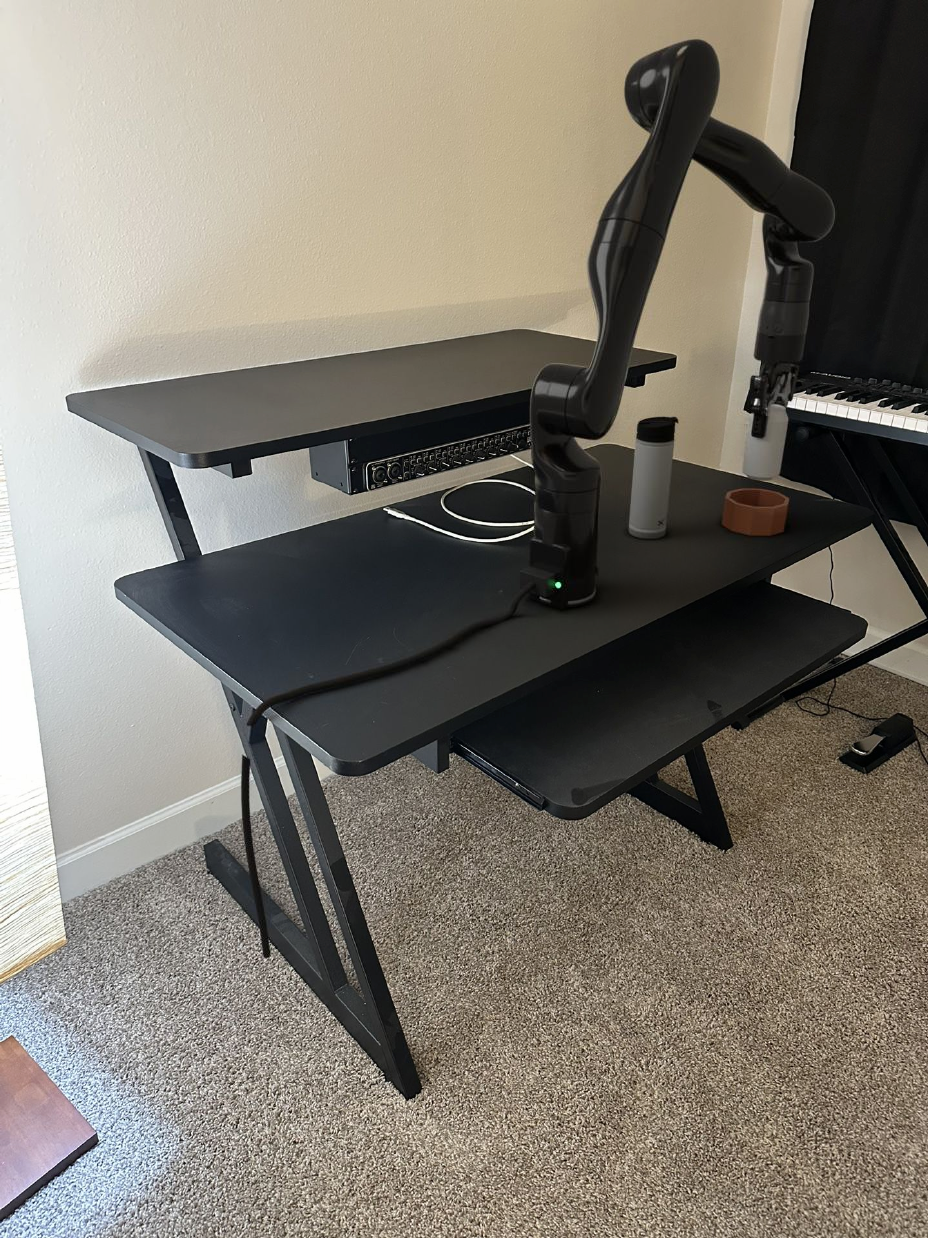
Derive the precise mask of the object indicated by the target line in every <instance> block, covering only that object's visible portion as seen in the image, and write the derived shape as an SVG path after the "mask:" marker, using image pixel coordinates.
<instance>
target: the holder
mask: <svg viewBox="0 0 928 1238" xmlns="http://www.w3.org/2000/svg"><path fill="white" fill-rule="evenodd" d="M723 504H724V505H723V511H722V521H721V525H722V526H723V527H725V528H726V529H728V530H729V531H730V532H734V533H738V534H742V535H747V536H756V537H757V536H759V537H760V536H763V537H764V536H765V537H771V536H774V535H778V534H781V533H784V532H785V529H786V524H787V517H788V512H789V506H790V505H789V504H790V497H788V496H787V495H784V494H783V493H781V492H778V491H774V490H768V489H764V488H743V487H742V488H738V489H734V490H730V491H727V493H726V496H725V497H724V503H723Z"/></svg>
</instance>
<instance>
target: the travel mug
mask: <svg viewBox="0 0 928 1238" xmlns="http://www.w3.org/2000/svg"><path fill="white" fill-rule="evenodd" d="M676 424H679V419H678V418H677V416H671V417H670V416H653V417H646V418H643V419H640V420H639V421H638V422H637V425H636V436H635V445H634V456H633V469H632V470H633V471H632V481H631V493H630V495H631V496H630V505H629V506H630V507H629V508H630V509H629V519H628V520H629V523H628V532H629V534H630V535H631V536H633V537H635V538H638V539H642V540H656V539H660V538H662V537H664V536H665V535H666V533H667V532H666V530H667V522H668V509H669V502H670V501H669V500H670V489H671V481H672V480H671V479H672V470H673V459H674V448H675V437H676V436H675V434H676Z"/></svg>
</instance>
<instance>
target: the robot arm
mask: <svg viewBox="0 0 928 1238" xmlns="http://www.w3.org/2000/svg"><path fill="white" fill-rule="evenodd" d="M720 82H721V67H720V62H719V58H718V54H717V53H716V51H715V49H714V47H713V45H711V43H709V42H707V41H706V40H703V39H699V38H694V39H693V38H692V39H687V40H683V41H679V42H676V43H673V44H671V45H668V46H666V47H663V48H661V49H658V50H655V51H653V52H650V53H649V54H646V55H644V56H642V57H641V58H639V59H638V60H636V61H635V62H634V63H633V65H631V67H630V68H629V70H628V72H627V74H626V76H625V80H624V86H623V99H624V104H625V107H626V110H627V112H628V114H629V115H630V117H631V120H633V121H634V122H635V124H637V126H638V127H640V128H641V129H642V130H643V131H645V132H647V133H649V136H648V138H647V141H646V143H645V145H644V147H643V148H642V150H641V153H640V154H639V155H638V157H637V158H636V159H635V161H634V163H633V164H632V166H631V167H630V168H629V170H628V171H627V172H626V174H625V175H624V176H623V178H622V179H621V181H620V182H619V183H618V185H617V186H616V188H615V189H614V190H613V192H612V193H611V195H610V197H608V199H607V201H606V203H605V204H604V207H603V208H602V210H601V212H600V215H599V218H598V220H597V223H596V226H595V230H594V233H593V236H592V239H591V243H590V246H589V249H588V253H587V257H586V276H587V281H588V285H589V286H588V287H589V290H590V294H591V299H592V301H593V306H594V309H595V314H596V319H597V337H596V343H595V348H594V352H593V357H592V359H591V362H590V365H589V366H583V365H576V364H568V363H561V362H553V363H548V364H546V365H545V366H543V367H542V368H541V369H540V370H539V372H538V373H537V375H536V377H535V379H534V382H533V384H532V388H531V393H530V401H529V403H530V404H529V428H530V459H531V464H532V468H533V471H534V502H533V503H534V506H533V508H534V509H533V537H532V538H530V540H529V566H527V567H524V568H523V569H520V571H519V590H520V591H519V592H517V593H516V595H515V596H514V598H513V599H512V601H511V604H510V606H509V608H508V610H507V611H505V612H504V613H502V614H501V615H499V616H497V617H493V618H488V619H483V620H479V621H476V622H473V623H471V624H469V625H468V626H465V627H464V628H462V629H461V630H459V631H458V632H456V633H455V634H453V635H451V636H450V637H448V638H447V639H445V640H443V641H441V642H439V643H438V644H435V645H434V646H433V645H432V646H431V647H429V648H428V649H425V650H423V651H420V652H418V653H415V654H413V655H410V656H409V657H405V658H403V659H399V660H397V661H394V662H391V663H387V664H385V665H381V666H378V667H374V668H371V669H367V670H362V671H358V672H355V673H352V674H348V675H344V676H340V677H336V678H332V679H327V680H323V681H319V682H314V683H310V684H306V685H304V686H303V685H302V686H300V687H297V688H295V689H292V690H290V691H287V692H284V693H280V694H277V695H274V696H271V697H269V698H267V699H266V700H264V701H262V703H260V704H259V705H258V706H257V707H256V708H255V710H254V711H253V712H252V713H251V715H250V717H249V718H248V720H247V722H246V726H247V727H253V726H255V725H256V724H257V723H258V721H259V720H260V718H261V717H262V715H263V714H264V713H265V712H266V711H267V710H268V709H269V708H271V707H274V706H276V705H278V704H282V703H285V702H288V701H290V700H293V699H295V698H298V697H301V696H303V695H307V694H310V693H314V692H318V691H322V690H326V689H331V688H335V687H339V686H343V685H344V686H345V685H348V684H351V683H354V682H359V681H361V680H366V679H369V678H373V677H376V676H379V675H384V674H387V673H390V672H393V671H396V670H399V669H402V668H405V667H408V666H411V665H414V664H415V663H417V662H420V661H422V660H426V659H427V658H430V657H431V656H433V655H436V654H437V653H440V652H442V651H444V650H446V649H447V648H449V647H452V646H453V645H454V644H455V643H457V642H458V641H460V640H461V639H464V637H466V636H467V635H469V634H472V633H473V632H475V631H476V630H479V629H483V628H487V627H491V626H493V625H497V624H499V623H501V622H505V621H507V620H508V619H510V618H512V616H514V615H515V613H516V611H517V609H518V607H519V604H520V602H521V601H522V600H523V598H524V597H525V596H526V595H528V599H529V600H532V601H535V602H538V603H540V604H544V605H546V606H549V607H553V608H556V609H558V610H562V611H563V610H565V609H568V608H573V607H575V608H576V607H581V606H584V605H586V604H589V603H591V602H592V601H593V600H595V598H596V592H597V591H596V590H597V589H596V579H597V577H599V574H600V573H599V572H600V571H599V568H598V565H597V563H598V562H597V561H598V543H599V528H600V527H599V526H600V511H601V497H602V482H603V481H602V479H603V477H602V476H603V468H602V467H603V466H602V465H601V463H600V462H599V461H598V460H597V459H596V458H595V457H594V456H592V455H591V454H589V453H588V452H587V451H586V450H584V449H583V448H582V447H581V446H580V444H579V443H578V442H577V439H582V440H587V441H598V440H601V439H602V438H604V437H605V436H606V435H607V434H608V433H609V431H611V429H612V427H613V425H614V423H615V420H616V418H617V415H618V412H619V410H620V405H621V402H622V398H623V393H624V389H625V385H626V380H627V376H628V372H629V367H630V362H631V359H632V354H633V349H634V344H635V341H636V336H637V332H638V328H639V326H640V322H641V319H642V314H643V312H644V308H645V305H646V302H647V299H648V296H649V293H650V289H651V286H652V284H653V280H654V277H655V275H656V272H657V270H658V266H659V263H660V259H661V258H662V257H661V256H662V254H663V250H664V246H665V243H666V240H667V236H668V232H669V228H670V226H671V221H672V218H673V215H674V212H675V210H676V207H677V203H678V201H679V197H680V195H681V192H682V188H683V186H684V182H685V180H686V177H687V175H688V172H689V171H688V170H689V169H690V166H691V164H692V161H694V162H696V164H698V165H700V166H701V167H703V168H704V169H706V170H707V171H708V172H710V173H711V174H712V175H714V176H715V177H716V178H717V179H719V180H720V181H721V182H722V183H723V184H724V185H726V186H727V187H728V188H729V189H730V190H731V191H732V192H733V193H734V194H735V195H736V196H738V198H739V199H740V200H742V201H743V202H744V204H746V205H747V206H748V207H749V208H750V209H752V210H754V211H755V212H757V213H760V214H763V215H762V220H761V233H762V234H761V236H762V244H763V255H764V262H765V269H766V273H765V274H766V276H765V281H764V289H763V296H762V302H761V305H760V309H759V310H760V311H759V313H758V320H757V328H756V334H755V335H756V336H755V342H754V349H753V358H754V360H756V361H760V362H761V367H760V371H759V373H758V375H751V376H750V380H749V389H748V399H747V400H748V402H747V412H748V413H752V414H754V417H753V424H752V431H751V436H752V437H756V438H763V437H765V435H766V429H767V422H768V414H769V411H770V408H771V405H772V404H776V405H781V406H784V407H785V408H787V407H788V406H789V402H793V399H794V394H795V389H796V385H797V380H798V374H799V370H800V366H799V365H798V364H795V363H799V362H801V360H802V359H803V356H804V349H805V344H806V343H805V342H806V337H807V330H808V325H809V317H810V300H811V294H812V287H813V281H814V275H815V273H814V272H815V269H814V264H813V263H812V262H811V261H810V260H809V259H805V258H803V257H802V256H801V255H800V254H799V249H798V243H807V244H809V243H815V242H818V241H820V240H822V239H823V238H824V237H826V236H827V235H828V234H829V233H830V232H831V230H832V228H833V226H834V224H835V219H836V210H835V205H834V203H833V200H832V198H831V197H830V195H829V194H828V193H827V192H826V191H825V189H823V188H822V187H820V186H819V185H818V184H816V183H814V182H813V181H811V180H810V179H809V178H806V177H804V176H803V175H801V174H799V173H798V172H795V171H794V170H792V169H791V168H789V167H788V166H787V165H786V163H785V162H784V161H783V160H782V159H781V158H780V157H779V156H778V155H777V154H776V152H774V151H773V150H772V149H771V148H770V146H768V145H767V144H766V143H765V142H763V141H762V140H761V139H759V138H758V137H756V136H754V135H752V134H750V133H748V132H746V131H744V130H741V129H739V128H737V127H734V126H732V125H730V124H727V123H725V122H723V121H720V120H718V119H717V118H715V117H713V116H711V115H712V112H713V110H714V107H715V104H716V101H717V98H718V94H719V90H720ZM759 405H760V406H759ZM576 438H577V439H576ZM596 576H597V577H596ZM240 777H241V778H240V799H241V800H240V805H241V806H240V807H241V821H242V822H241V823H242V832H243V834H242V835H243V841H244V848H245V849H244V850H245V855H246V861H247V862H246V863H247V868H248V873H249V879H250V884H251V889H252V894H253V899H254V906H255V912H256V917H257V922H258V928H259V934H260V936H259V937H260V942H261V950H262V957H263V958H264V959H269V958H270V957H271V955H272V954H271V947H270V939H269V938H270V937H269V932H268V924H267V920H266V913H265V906H264V901H263V896H262V890H261V885H260V880H259V873H258V868H257V862H256V855H255V850H254V842H253V841H254V840H253V832H252V821H251V806H250V805H251V804H250V781H251V780H250V779H251V778H250V777H251V759H250V758H249V757H247V756H246V755H244V754H241V775H240Z"/></svg>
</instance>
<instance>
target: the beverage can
mask: <svg viewBox="0 0 928 1238" xmlns="http://www.w3.org/2000/svg"><path fill="white" fill-rule="evenodd" d="M759 406H760V405H759ZM786 410H787V407H784V406H781V405H776V404H772V405H771V408H770V411H769V414H768V422H767V429H766V435H765V437H763V438H756V437H752V436H751V431H752V424H753V417H754V414H752V412H750V413H751V414H750V415H749V418H748V425H747V432H746V437H745V439H746V440H745V445H744V454H743V461H742V469H741V470H742V471H741V472H742V474H744V475H745V476H746V477H747V478H748V479H750V480H753V481H760V482H767V481H768V482H769V481H772V480H774V479H775V478H777V477H779V476H780V474H781V468H782V462H783V458H784V457H783V455H784V449H785V442H786V438H787V431H788V424H789V417H788V416H789V415H788V414H787V412H786Z"/></svg>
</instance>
